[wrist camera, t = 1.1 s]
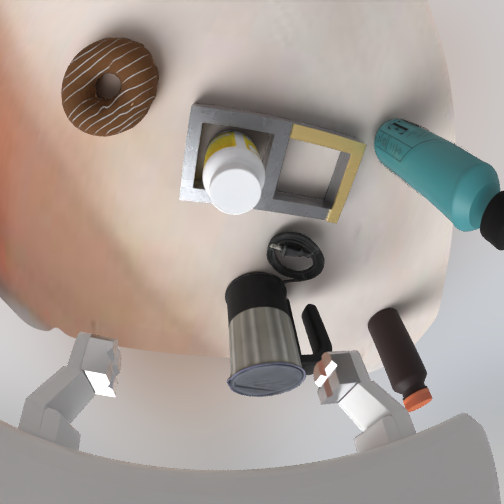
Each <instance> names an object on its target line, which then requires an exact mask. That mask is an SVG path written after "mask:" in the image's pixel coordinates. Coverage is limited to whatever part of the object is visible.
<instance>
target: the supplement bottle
mask: <svg viewBox="0 0 504 504" xmlns="http://www.w3.org/2000/svg"><path fill="white" fill-rule="evenodd" d="M264 182H265V169H264V166H263V163H262V161H261V158H260V156H259V153H258V151H257V148H256V146H255V144H254V142H253V141H252V139H251V138H250V137H249V136H247V135H246V134H244V133H242V132H239V131H234V130H230V131H225V132H222V133H219V134H218V135H216V136H215V137H214V138H213V139H212V140H211V141H210V143H209V144H208V147H207V150H206V155H205V161H204V168H203V184H204V188H205V190H206V191H207V193H208V194H209V196H210V199H211V201H212V203H213V204H214V206H215V207H216V208H217V209H219V210H220V211H222V212H224V213H227V214H231V215H238V214H243V213H246V212H248V211H250V210H251V209H253V208H254V207H255V206H256V204H257V203H258V202H259V200H260V197H261V190H262V188H263V186H264Z"/></svg>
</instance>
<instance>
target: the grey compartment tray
mask: <svg viewBox="0 0 504 504" xmlns="http://www.w3.org/2000/svg"><path fill="white" fill-rule="evenodd" d="M203 123H210V124H218V125H225V126H231V127H238V128H244V129H250V130H255V131H261V132H266V133H270V134H269V138H268V142H267V146H266V150H265V154H264V158H263V162H262V163H263V166H264V169H265V182H264V186H263V188H262V190H261V197H260V200H259V202H258V203H257V204H256V206H255V207H254V208H253V209H257V210H264V211H271V212H278V213H284V214H291V215H297V216H304V217H310V218H316V219H322V220H327V222H332V223H337V221H338V219H339V216H340V214H341V212H342V209H343V207H344V204H345V201H346V199H347V196H348V194H349V191H350V189H351V186H352V183H353V181H354V178H355V175H356V173H357V170H358V167H359V165H360V162H361V159H362V156H363V153H364V151H365V148H366V144H364V143H363V142H361V141H360V140H358V139H357V138H355V137H352V136H349V135H345V134H342V133H339V132H336V131H332V130H329V129H325V128H322V127H318V126H314V125H311V124H307V123H303V122H299V121H295V120H291V119H286V118H282V117H277V116H273V115H268V114H263V113H258V112H253V111H247V110H241V109H235V108H229V107H222V106H215V105H207V104H199V103H194V104H193V105H192V106H191V112H190V119H189V125H188V132H187V139H186V147H185V154H184V162H183V171H182V180H181V190H180V200H186V201H195V202H204V203H212V201H211V199H210V196H209V194H208V193H207V191H206V190H205V188H204V184H203V180H199V179H195V173H196V166H197V159H198V152H199V145H200V139H201V133H202V126H203ZM289 138H292V139H296V140H300V141H305V142H309V143H313V144H317V145H321V146H324V147H328V148H332V149H336V150H339V151H341V153H340V156H339V159H338V162H337V164H336V167H335V170H334V173H333V176H332V179H331V182H330V185H329V187H328V190H327V193H326V196H325V199H320V198H315V197H309V196H304V195H298V194H293V193H287V192H281V191H276V190H275V189H276V185H277V182H278V178H279V174H280V171H281V167H282V163H283V160H284V156H285V152H286V149H287V145H288V141H289ZM212 204H213V203H212Z"/></svg>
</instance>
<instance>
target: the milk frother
mask: <svg viewBox="0 0 504 504" xmlns="http://www.w3.org/2000/svg"><path fill="white" fill-rule="evenodd" d="M275 249H277V250H280V251H281V254H282V257H284V256H285V255H286V256H294V257H297V256H298V257H301V256H305V257H307V258H309V257H311V258H312V260H313V265H312V266H311V267H310V268H308V269H306V270H302V271H295V270H291V269H289V268H287V267H285V266H284V265H282V264H281V262H280V261H279V260H278V259H277V257H276V253H275ZM267 259H268V261H269V263H270V264H271V265H272V267H273V268H274V269H275V270H276V271H277V272H279V273H280V274H282V275H284V276H287V277H290V278H294V279H290V280H283V281H282V280H280V279H279V278H278V277H276V276H274V275H271V274H267V273H250V274H246V275H243V276H241V277H239V278H237V279H235V280H234V281H233V282H232V283H231V284H230V285H229V286H228V288H227V290H226V293H225V299H226V303H227V308H228V321H229V347H230V370H231V375H230V377H229V379H228V380H227V383H228V385H229V387H230V389H231V390H233V391H234V392H236V393H238V394H241V395H246V396H257V397H263V396H272V395H277V394H281V393H284V392H288V391H290V390H292V389H294V388H296V387H298V386H300V384H301V383H302V382H303V381H304V380H305V378H306V375H311V374H313V372H314V367H315V365H316V364H317V362H319V361H321V360H322V357H321V356H322V355H323V354H324V353H325V352H332V345H331V342H330V339H329V337H328V334H327V332H326V329H325V327H324V324H323V322H322V319H321V317H320V315H319V312H318V310H317V308H316V306H315V305H313V304H308V305H307V306H306V307H305V309H304V311H303V313H302V320H303V323H304V326H305V329H306V333H307V335H308V339H309V342H310V345H311V348H312V351H313V354H312V355H301V350H300V346H299V342H298V337H297V333H296V329H295V324H294V320H293V316H292V311H291V307H290V302H289V300H288V299H286V293H287V290H286V286H285V285H284V284H285V283H289V282H300V281H306V280H309V279H312V278H315V277H316V276H318V275H319V274H320V273H321V272H322V270H323V268H324V262H325V260H324V256H323V254H322V252H321V250H320V249H319V247H318V246H317V245H316V244H315V243H314V242H313V241H312V240H311V239H310V238H308V237H307V236H305V235H303V234H301V233H298V232H282V233H279V234H277V235H276V236H274V237H273V238H272V239H271V241H270V243H269V245H268V249H267Z"/></svg>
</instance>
